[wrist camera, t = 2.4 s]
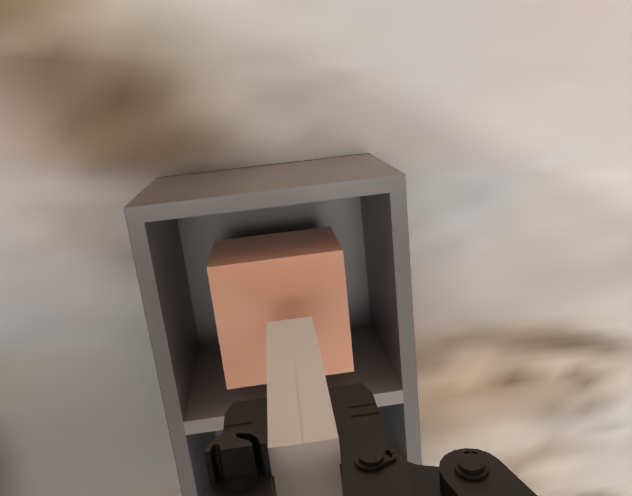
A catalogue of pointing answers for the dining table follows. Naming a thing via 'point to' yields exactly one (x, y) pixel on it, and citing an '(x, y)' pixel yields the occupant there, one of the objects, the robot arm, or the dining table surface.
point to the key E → (278, 298)
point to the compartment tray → (260, 219)
